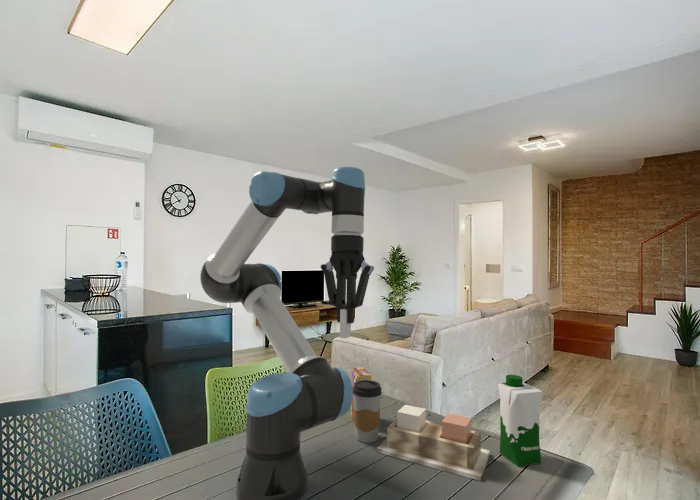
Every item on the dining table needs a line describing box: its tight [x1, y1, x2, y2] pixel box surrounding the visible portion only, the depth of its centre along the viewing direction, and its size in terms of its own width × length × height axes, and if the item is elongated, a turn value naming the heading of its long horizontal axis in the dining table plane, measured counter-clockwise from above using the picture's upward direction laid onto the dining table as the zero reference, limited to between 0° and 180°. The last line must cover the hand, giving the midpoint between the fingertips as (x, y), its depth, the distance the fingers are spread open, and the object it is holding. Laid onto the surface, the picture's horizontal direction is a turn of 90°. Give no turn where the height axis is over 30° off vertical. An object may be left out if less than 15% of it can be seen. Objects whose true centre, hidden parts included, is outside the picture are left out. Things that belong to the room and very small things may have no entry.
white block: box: [396, 404, 427, 433], centre depth 102 cm, size 6×6×7 cm
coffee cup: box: [353, 380, 383, 444], centre depth 108 cm, size 8×8×15 cm
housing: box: [376, 418, 491, 482], centre depth 99 cm, size 26×14×6 cm, turn 61°
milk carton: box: [497, 374, 544, 467], centre depth 98 cm, size 9×9×20 cm
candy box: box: [350, 367, 372, 420], centre depth 120 cm, size 9×4×15 cm, turn 13°
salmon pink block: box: [441, 413, 472, 444], centre depth 96 cm, size 6×6×7 cm
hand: (345, 337), depth 87 cm, fingers closed
